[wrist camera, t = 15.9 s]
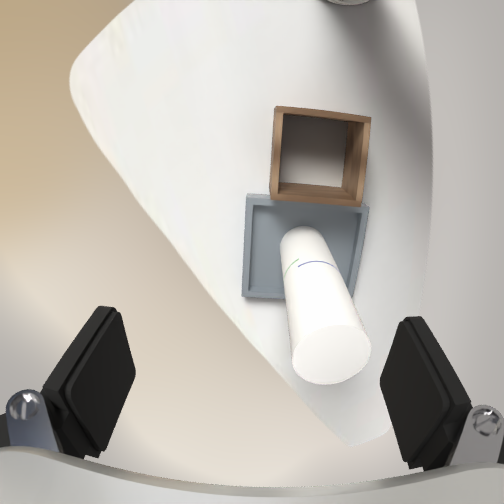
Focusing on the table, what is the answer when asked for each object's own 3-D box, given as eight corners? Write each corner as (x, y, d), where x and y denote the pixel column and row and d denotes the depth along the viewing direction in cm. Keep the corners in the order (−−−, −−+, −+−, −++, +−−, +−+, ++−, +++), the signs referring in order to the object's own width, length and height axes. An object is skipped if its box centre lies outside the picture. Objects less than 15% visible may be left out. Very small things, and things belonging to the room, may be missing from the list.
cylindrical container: (331, 259, 50) (377, 369, 27) (289, 275, 52) (305, 393, 29) (317, 219, 48) (362, 312, 25) (272, 236, 49) (280, 341, 26)
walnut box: (274, 108, 42) (276, 105, 35) (353, 117, 42) (371, 117, 35) (269, 186, 47) (270, 199, 40) (345, 193, 47) (360, 207, 39)
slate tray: (247, 193, 47) (246, 197, 45) (364, 202, 47) (369, 207, 45) (242, 288, 54) (241, 296, 51) (348, 293, 54) (351, 301, 51)
